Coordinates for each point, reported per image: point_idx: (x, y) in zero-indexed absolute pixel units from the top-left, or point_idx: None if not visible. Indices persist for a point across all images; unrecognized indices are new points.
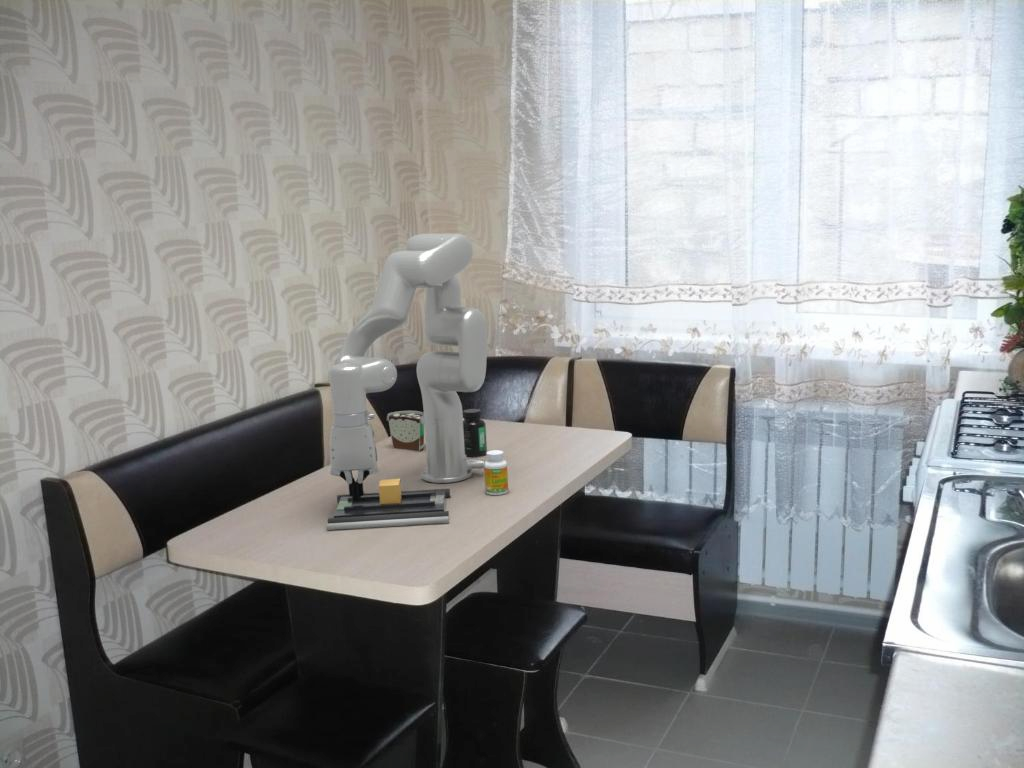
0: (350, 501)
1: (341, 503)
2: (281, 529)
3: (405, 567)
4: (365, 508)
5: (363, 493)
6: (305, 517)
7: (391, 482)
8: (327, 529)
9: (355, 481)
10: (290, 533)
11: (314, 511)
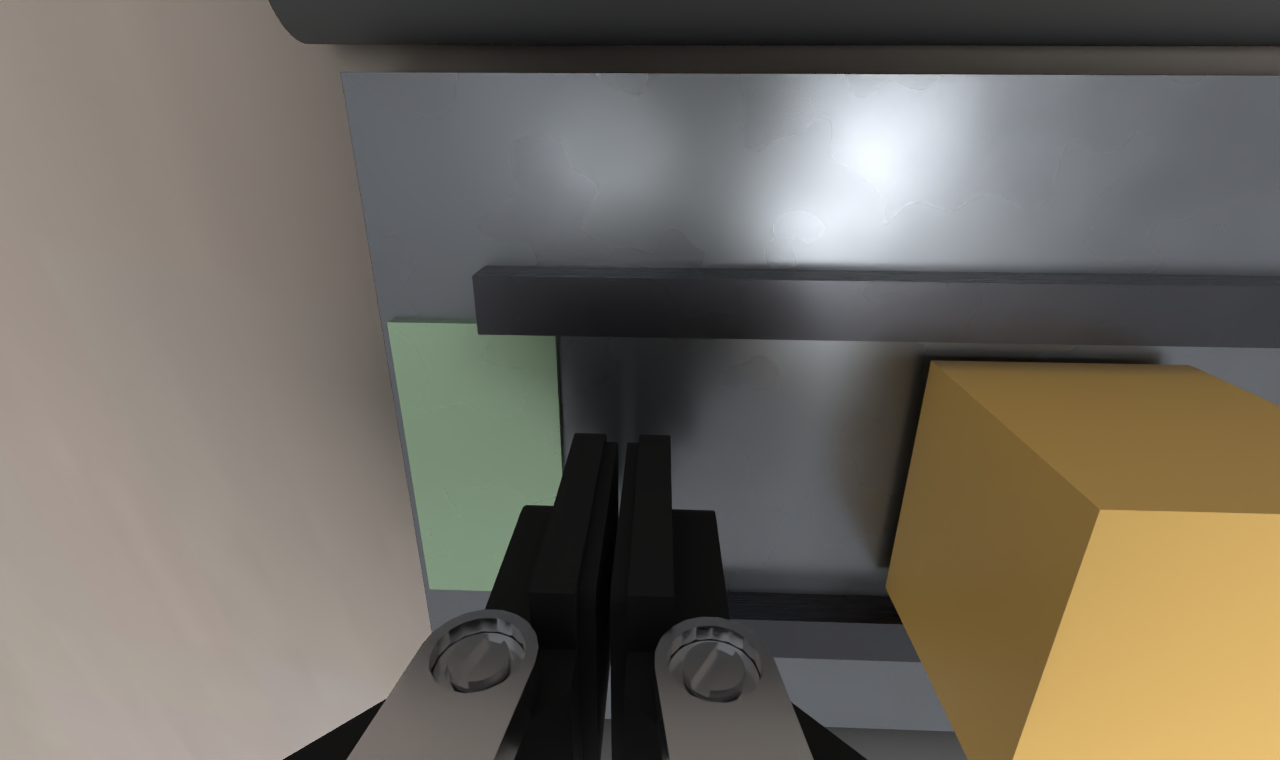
0: (528, 359)
1: (431, 409)
2: (80, 657)
3: None
4: None
5: (713, 514)
6: (138, 425)
7: (1257, 695)
8: None
9: (591, 635)
10: (193, 736)
11: (144, 254)
